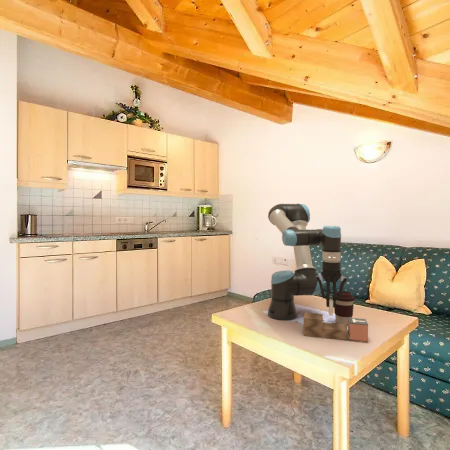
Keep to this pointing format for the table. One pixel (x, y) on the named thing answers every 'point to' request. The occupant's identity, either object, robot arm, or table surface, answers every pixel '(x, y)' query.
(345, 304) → the coffee cup
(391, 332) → the table surface
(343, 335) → the stair
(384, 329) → the table surface
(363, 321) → the block
